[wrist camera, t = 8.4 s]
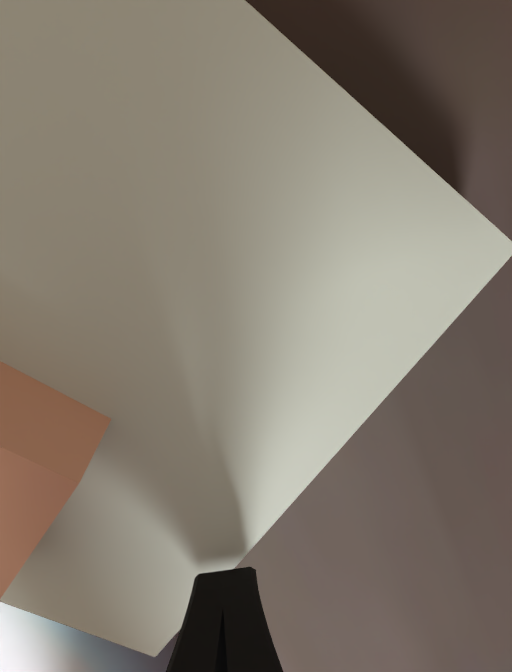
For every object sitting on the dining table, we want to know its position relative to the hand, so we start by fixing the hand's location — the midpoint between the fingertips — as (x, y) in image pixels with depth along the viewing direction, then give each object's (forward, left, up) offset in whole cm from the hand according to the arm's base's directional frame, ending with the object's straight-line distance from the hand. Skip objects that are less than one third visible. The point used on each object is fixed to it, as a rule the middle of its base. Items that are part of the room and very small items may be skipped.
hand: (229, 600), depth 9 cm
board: (+7, -3, -3) cm, 8 cm away
